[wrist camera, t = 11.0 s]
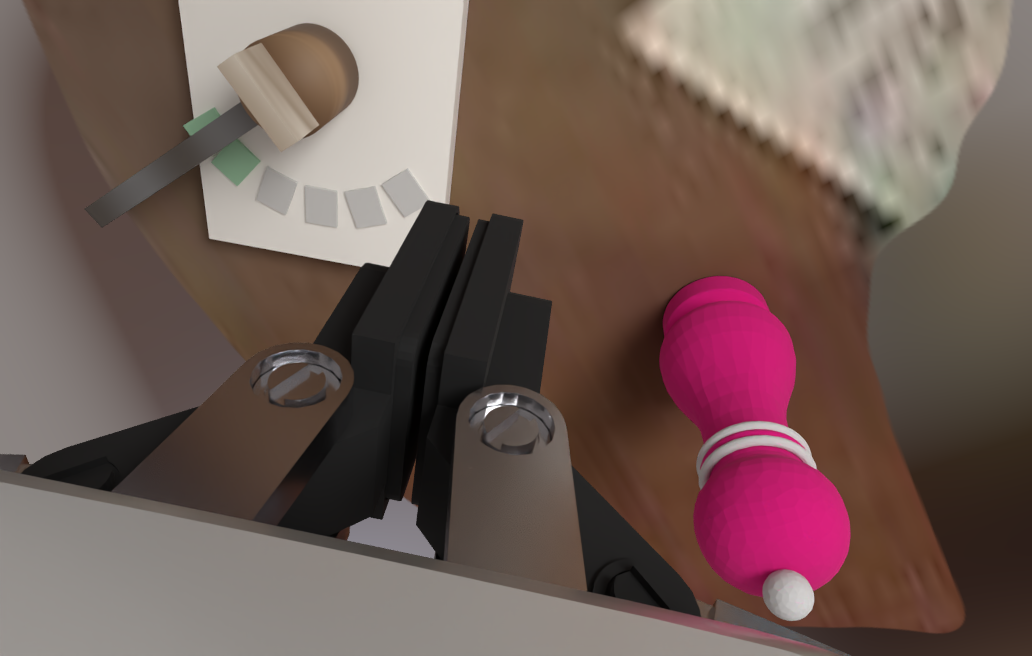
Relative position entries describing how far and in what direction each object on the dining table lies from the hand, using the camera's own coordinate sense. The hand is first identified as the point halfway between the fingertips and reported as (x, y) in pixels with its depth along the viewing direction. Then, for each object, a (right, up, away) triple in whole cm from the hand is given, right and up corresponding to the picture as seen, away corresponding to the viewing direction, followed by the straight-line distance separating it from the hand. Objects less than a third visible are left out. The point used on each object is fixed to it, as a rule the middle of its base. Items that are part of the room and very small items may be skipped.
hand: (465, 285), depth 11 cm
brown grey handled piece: (-14, +10, +23) cm, 29 cm away
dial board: (-9, +11, +24) cm, 28 cm away
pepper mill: (+13, 0, +29) cm, 32 cm away
